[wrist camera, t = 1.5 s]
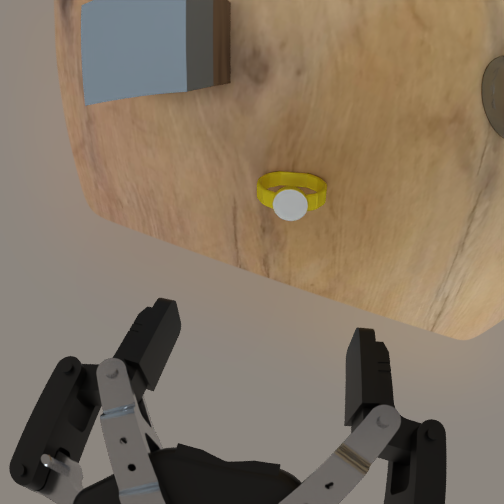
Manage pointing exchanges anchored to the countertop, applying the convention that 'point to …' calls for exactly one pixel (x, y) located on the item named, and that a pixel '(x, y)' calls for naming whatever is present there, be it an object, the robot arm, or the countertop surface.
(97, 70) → the grey block
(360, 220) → the countertop surface
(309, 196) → the watch
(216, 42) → the walnut block
